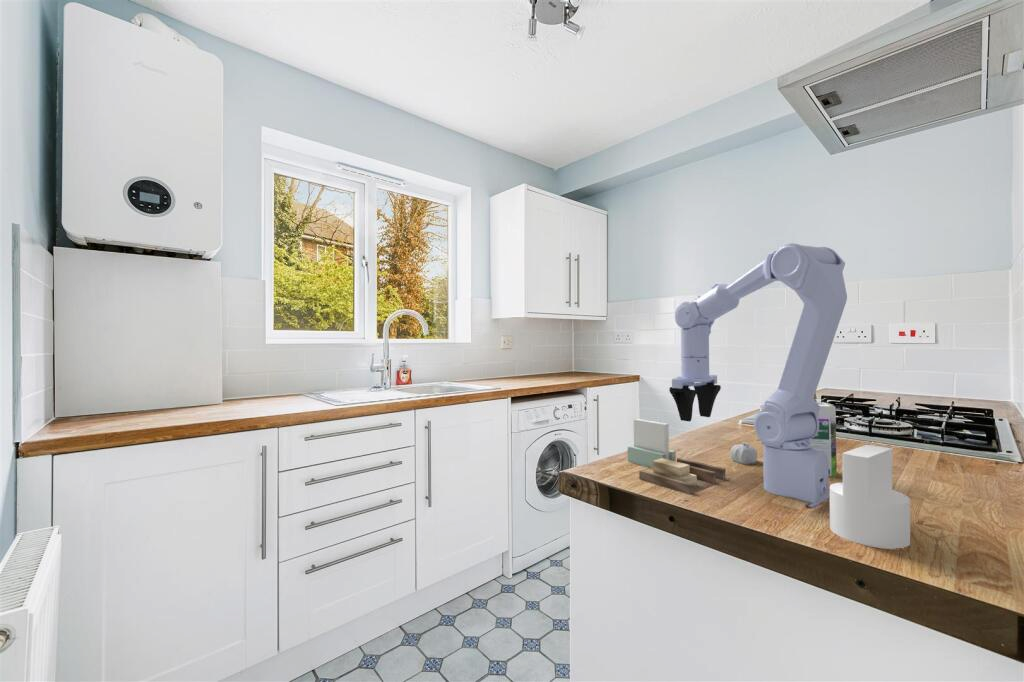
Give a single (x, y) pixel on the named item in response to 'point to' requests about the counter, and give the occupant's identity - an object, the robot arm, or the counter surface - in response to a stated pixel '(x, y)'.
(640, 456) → the stand
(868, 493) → the cylinder with rectangular tab
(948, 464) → the counter surface
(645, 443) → the white square panel
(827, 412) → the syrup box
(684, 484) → the rack
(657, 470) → the offcut stack
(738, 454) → the garlic
